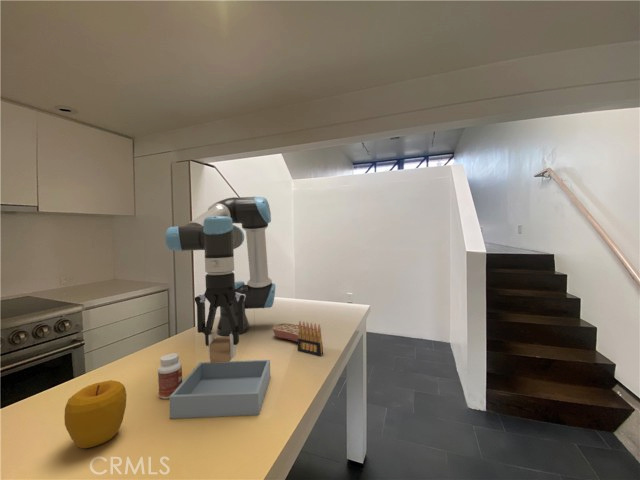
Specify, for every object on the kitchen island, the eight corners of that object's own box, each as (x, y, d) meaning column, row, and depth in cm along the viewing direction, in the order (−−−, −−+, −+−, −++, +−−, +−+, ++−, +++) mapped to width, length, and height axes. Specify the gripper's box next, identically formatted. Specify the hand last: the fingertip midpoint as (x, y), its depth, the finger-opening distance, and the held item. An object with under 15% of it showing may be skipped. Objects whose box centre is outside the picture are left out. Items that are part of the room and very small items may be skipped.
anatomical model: (268, 339, 120) (268, 328, 120) (284, 332, 129) (283, 321, 128) (309, 350, 107) (309, 338, 107) (323, 342, 115) (323, 330, 115)
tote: (200, 379, 88) (200, 362, 87) (270, 376, 88) (269, 359, 88) (170, 418, 69) (169, 396, 69) (258, 414, 69) (258, 393, 69)
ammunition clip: (323, 354, 103) (322, 323, 103) (320, 356, 101) (319, 325, 101) (300, 349, 108) (299, 319, 108) (297, 351, 107) (296, 321, 107)
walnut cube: (216, 354, 77) (216, 337, 77) (234, 354, 77) (233, 336, 77) (210, 362, 72) (209, 344, 72) (229, 362, 72) (228, 343, 72)
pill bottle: (183, 394, 79) (182, 357, 79) (159, 402, 76) (158, 363, 76) (181, 385, 84) (180, 350, 84) (158, 392, 81) (157, 355, 81)
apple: (76, 469, 54) (73, 406, 54) (58, 447, 60) (55, 390, 60) (136, 434, 64) (134, 380, 63) (116, 418, 69) (114, 369, 69)
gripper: (180, 275, 70) (183, 364, 71) (249, 273, 71) (252, 361, 71) (192, 271, 78) (195, 351, 78) (255, 269, 78) (258, 349, 79)
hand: (222, 356), depth 75 cm, fingers closed on walnut cube, 5 cm apart
